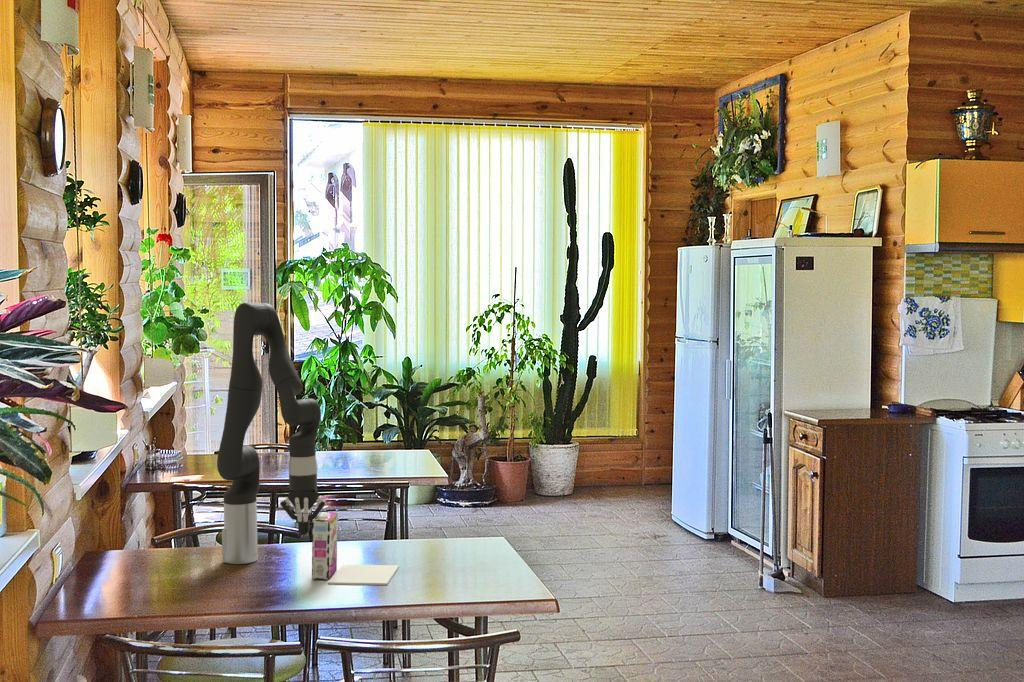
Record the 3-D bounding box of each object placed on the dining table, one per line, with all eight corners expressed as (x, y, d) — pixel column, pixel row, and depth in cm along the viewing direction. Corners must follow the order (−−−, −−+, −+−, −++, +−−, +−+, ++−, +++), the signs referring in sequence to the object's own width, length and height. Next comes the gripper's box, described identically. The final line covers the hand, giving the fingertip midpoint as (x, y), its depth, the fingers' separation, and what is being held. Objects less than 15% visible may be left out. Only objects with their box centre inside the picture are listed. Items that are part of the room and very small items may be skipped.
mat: (327, 584, 288) (327, 582, 288) (343, 566, 306) (343, 564, 306) (387, 585, 287) (387, 583, 286) (399, 567, 304) (399, 565, 304)
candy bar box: (329, 580, 291) (329, 520, 290) (311, 580, 291) (311, 520, 290) (338, 569, 302) (338, 511, 301) (320, 569, 302) (320, 511, 302)
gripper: (275, 474, 292) (276, 537, 293) (323, 474, 291) (324, 538, 292) (283, 469, 300) (284, 531, 301) (329, 469, 299) (331, 531, 300)
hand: (304, 534), depth 296 cm, fingers closed
